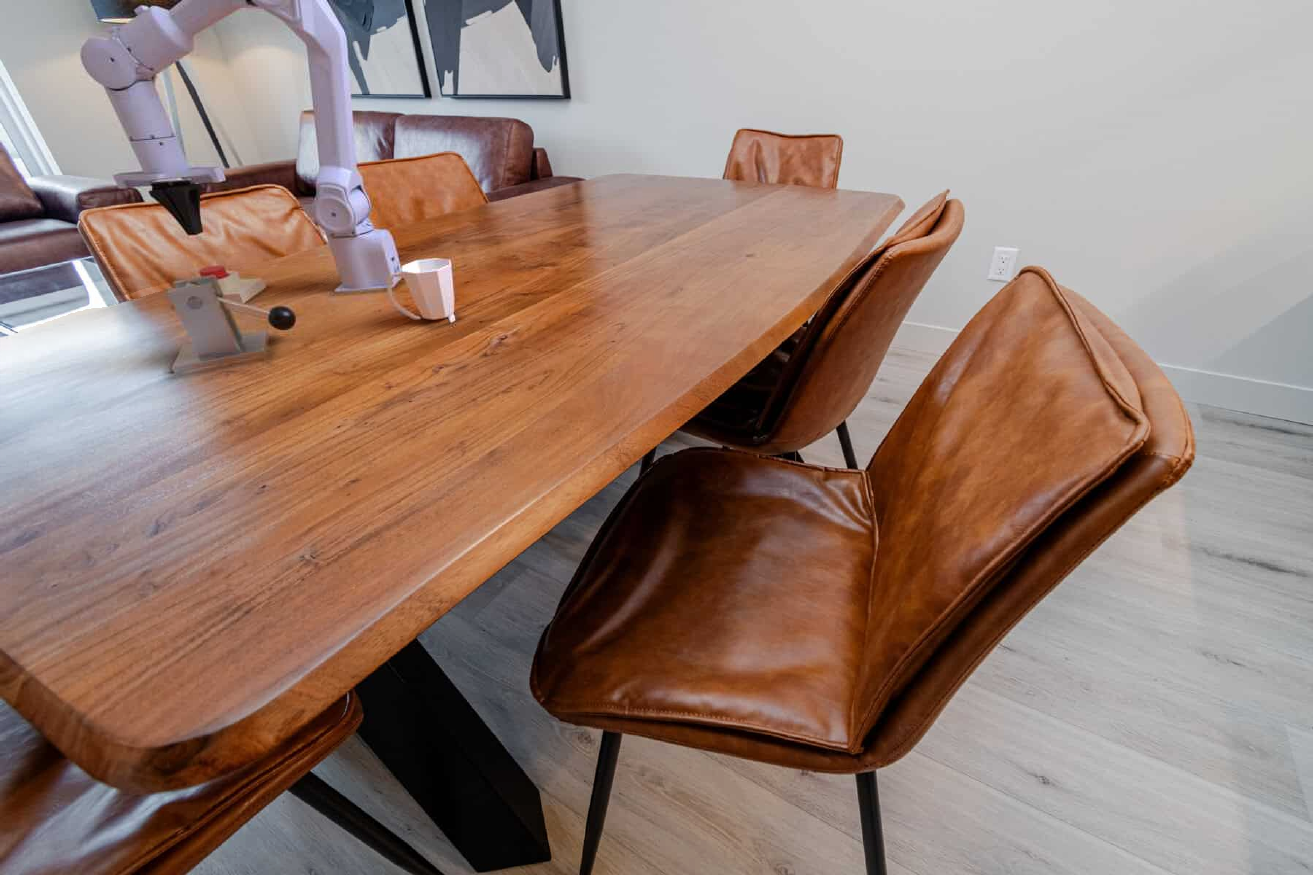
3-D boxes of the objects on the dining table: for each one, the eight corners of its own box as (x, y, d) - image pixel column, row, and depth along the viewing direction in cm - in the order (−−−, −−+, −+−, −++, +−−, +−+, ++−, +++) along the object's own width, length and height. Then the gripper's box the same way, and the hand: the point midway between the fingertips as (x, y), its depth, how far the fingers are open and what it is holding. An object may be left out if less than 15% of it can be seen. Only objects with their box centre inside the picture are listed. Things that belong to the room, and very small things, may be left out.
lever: (293, 328, 82) (298, 307, 81) (292, 336, 80) (298, 314, 79) (184, 301, 75) (188, 278, 74) (179, 309, 73) (184, 284, 72)
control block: (266, 287, 104) (257, 267, 102) (243, 303, 97) (234, 282, 95) (206, 292, 103) (196, 272, 101) (179, 308, 96) (169, 287, 94)
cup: (455, 330, 83) (441, 272, 78) (386, 331, 84) (368, 274, 79) (472, 311, 89) (459, 257, 84) (407, 312, 90) (391, 258, 85)
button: (233, 275, 100) (228, 264, 99) (221, 282, 97) (217, 271, 96) (210, 276, 100) (205, 266, 99) (198, 283, 97) (193, 273, 96)
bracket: (270, 337, 84) (241, 267, 78) (266, 358, 77) (234, 284, 72) (187, 353, 80) (150, 281, 75) (175, 376, 74) (135, 300, 69)
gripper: (80, 144, 83) (131, 243, 91) (189, 138, 84) (230, 236, 91) (114, 139, 89) (159, 232, 96) (215, 132, 90) (252, 226, 97)
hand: (195, 233), depth 94 cm, fingers closed
